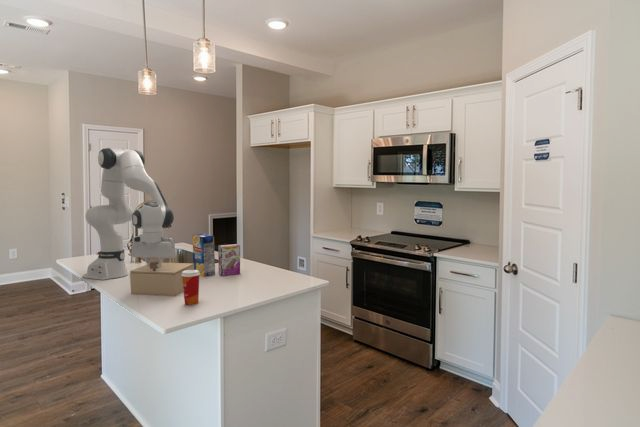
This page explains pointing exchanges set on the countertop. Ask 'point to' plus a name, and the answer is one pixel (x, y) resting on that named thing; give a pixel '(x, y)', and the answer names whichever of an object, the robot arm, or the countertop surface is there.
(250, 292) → the countertop surface
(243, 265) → the countertop surface
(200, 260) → the beverage box
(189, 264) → the lid flap
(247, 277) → the countertop surface
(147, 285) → the carton
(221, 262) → the candy bar box
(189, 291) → the paper cup
